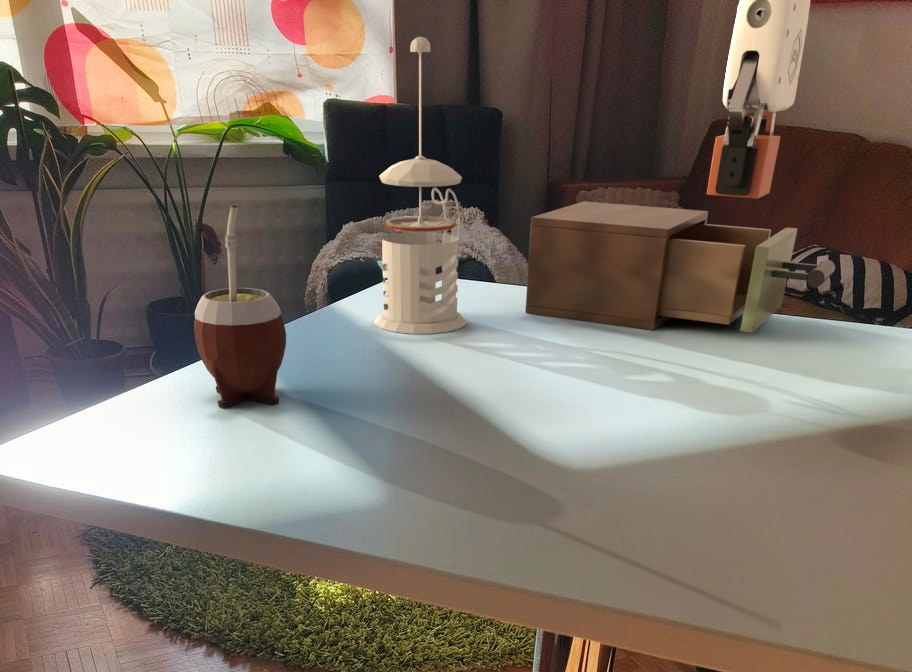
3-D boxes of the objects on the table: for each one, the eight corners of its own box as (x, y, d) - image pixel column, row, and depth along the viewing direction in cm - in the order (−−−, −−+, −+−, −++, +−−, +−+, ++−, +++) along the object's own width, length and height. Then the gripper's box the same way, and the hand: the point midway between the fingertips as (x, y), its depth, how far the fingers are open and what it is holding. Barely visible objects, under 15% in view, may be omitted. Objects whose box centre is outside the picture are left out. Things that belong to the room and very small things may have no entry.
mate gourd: (243, 379, 77) (221, 185, 69) (316, 394, 74) (302, 193, 65) (181, 403, 72) (149, 196, 63) (256, 420, 68) (233, 204, 60)
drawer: (829, 311, 95) (848, 232, 91) (805, 339, 86) (825, 252, 81) (661, 291, 103) (671, 218, 99) (621, 315, 93) (631, 234, 89)
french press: (355, 325, 93) (344, 35, 79) (413, 304, 101) (412, 38, 87) (437, 338, 88) (440, 34, 75) (490, 315, 97) (502, 38, 83)
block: (769, 193, 89) (780, 136, 86) (757, 198, 86) (769, 139, 83) (719, 189, 91) (729, 133, 88) (706, 194, 88) (715, 136, 85)
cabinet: (693, 302, 102) (708, 211, 97) (653, 330, 92) (667, 229, 87) (575, 288, 109) (583, 201, 103) (525, 312, 98) (530, 217, 93)
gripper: (806, -49, 70) (757, 204, 81) (841, -33, 83) (795, 185, 93) (712, -46, 74) (676, 198, 84) (759, -31, 86) (723, 180, 96)
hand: (739, 189), depth 88 cm, fingers closed on block, 5 cm apart
